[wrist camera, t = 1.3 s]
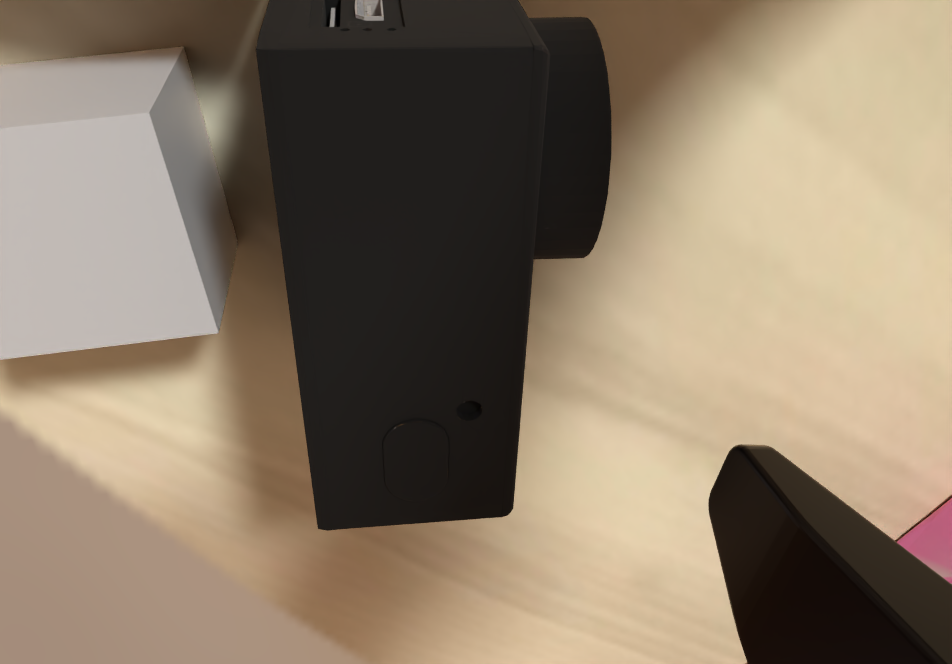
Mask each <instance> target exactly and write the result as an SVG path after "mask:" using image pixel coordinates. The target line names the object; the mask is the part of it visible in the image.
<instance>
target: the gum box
mask: <svg viewBox="0 0 952 664" xmlns="http://www.w3.org/2000/svg"><path fill="white" fill-rule="evenodd" d="M897 543H898V544H900V545H901V546H902V547H903V548H905V549H906V550H907V551H909V552H910V553H911V554H913V555H914V556H915V557H917V558H918V559H919V560H921V561H922V562H923V563H924V564H926V565H927V566H928V567H930V568H931V569H932V570H934V571H935V572H936V573H938V574H939V575H940V576H942V577H943V578H944V579H945V580H947V581H948V582H949V583H951V584H952V498H951V499H950V500H948V501H947V502H946V503H945V504H944V505H942V506H941V507H940V508H939V509H937V510H936V511H935V512H934V513H932V514H931V515H930V516H929V517H927V518H926V519H925V520H923V521H922V522H921V523H920V524H918V525H917V526H916V527H914V528H913V529H912V530H911V531H909V532H908V533H907V534H906V535H904V536H903V537H902V538H901V539H899V540H898V541H897Z"/></svg>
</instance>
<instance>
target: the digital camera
mask: <svg viewBox="0 0 952 664" xmlns="http://www.w3.org/2000/svg"><path fill="white" fill-rule="evenodd" d="M256 53H257V61H258V69H259V77H260V85H261V93H262V101H263V108H264V116H265V124H266V132H267V140H268V148H269V156H270V163H271V171H272V179H273V187H274V195H275V202H276V210H277V218H278V226H279V233H280V241H281V249H282V256H283V264H284V272H285V280H286V287H287V295H288V303H289V310H290V318H291V326H292V334H293V341H294V349H295V357H296V365H297V372H298V380H299V388H300V395H301V403H302V411H303V418H304V426H305V434H306V441H307V449H308V456H309V464H310V472H311V479H312V487H313V494H314V502H315V510H316V517H317V525H318V529H322V530H336V529H349V528H362V527H375V526H388V525H401V524H415V523H428V522H441V521H454V520H468V519H481V518H494V517H503V516H507V515H508V514H509V513H511V511H512V509H513V502H514V490H515V478H516V466H517V454H518V442H519V430H520V417H521V405H522V393H523V381H524V369H525V357H526V345H527V332H528V320H529V308H530V296H531V284H532V272H533V260H534V259H561V258H584V257H586V256H587V255H588V254H589V253H590V252H591V250H592V249H593V247H594V245H595V243H596V241H597V238H598V235H599V232H600V229H601V225H602V221H603V216H604V211H605V206H606V201H607V195H608V185H609V174H610V162H611V105H610V94H609V83H608V74H607V67H606V62H605V57H604V52H603V49H602V45H601V42H600V38H599V36H598V33H597V31H596V29H595V27H594V25H593V24H592V22H591V21H590V20H589V19H588V18H585V17H563V18H528V16H527V14H526V13H525V11H524V9H523V8H522V6H521V4H520V3H519V1H518V0H270V1H269V4H268V7H267V11H266V14H265V17H264V20H263V24H262V27H261V30H260V34H259V38H258V42H257V46H256Z"/></svg>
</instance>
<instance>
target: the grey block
mask: <svg viewBox="0 0 952 664" xmlns="http://www.w3.org/2000/svg"><path fill="white" fill-rule="evenodd" d="M237 246H238V241H237V238H236V234H235V231H234V227H233V223H232V220H231V216H230V212H229V209H228V205H227V201H226V198H225V194H224V190H223V187H222V183H221V180H220V176H219V172H218V169H217V165H216V161H215V158H214V154H213V150H212V147H211V143H210V140H209V136H208V132H207V129H206V125H205V121H204V118H203V114H202V110H201V107H200V103H199V99H198V96H197V92H196V89H195V85H194V81H193V78H192V74H191V70H190V67H189V63H188V59H187V56H186V52H185V49H184V46H183V47H173V48H163V49H153V50H143V51H133V52H123V53H113V54H103V55H93V56H83V57H73V58H63V59H53V60H43V61H33V62H23V63H13V64H3V65H0V360H2V359H10V358H19V357H27V356H35V355H43V354H52V353H60V352H68V351H76V350H84V349H93V348H101V347H109V346H117V345H126V344H134V343H142V342H150V341H158V340H167V339H175V338H183V337H191V336H200V335H208V334H216V333H219V329H220V324H221V319H222V315H223V310H224V306H225V301H226V297H227V292H228V288H229V283H230V278H231V274H232V269H233V265H234V260H235V256H236V251H237Z"/></svg>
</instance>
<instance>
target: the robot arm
mask: <svg viewBox="0 0 952 664" xmlns="http://www.w3.org/2000/svg"><path fill="white" fill-rule="evenodd" d="M709 515H710V519H711V524H712V528H713V532H714V536H715V540H716V545H717V549H718V553H719V557H720V562H721V566H722V570H723V574H724V579H725V583H726V587H727V591H728V596H729V600H730V604H731V608H732V612H733V616H734V620H735V624H736V628H737V631H738V635H739V638H740V641H741V644H742V647H743V650H744V653H745V656H746V659H747V662H748V664H952V584H951V583H949V582H948V581H947V580H945V579H944V578H943V577H942V576H940V575H939V574H938V573H936V572H935V571H934V570H932V569H931V568H930V567H928V566H927V565H926V564H924V563H923V562H922V561H921V560H919V559H918V558H917V557H915V556H914V555H913V554H911V553H910V552H909V551H907V550H906V549H905V548H903V547H902V546H901V545H900V544H898V543H897V542H896V541H894V540H893V539H892V538H890V537H889V536H888V535H886V534H885V533H884V532H882V531H881V530H880V529H879V528H877V527H876V526H875V525H873V524H872V523H871V522H869V521H868V520H867V519H865V518H864V517H863V516H861V515H860V514H859V513H858V512H856V511H855V510H854V509H852V508H851V507H850V506H848V505H847V504H846V503H844V502H843V501H842V500H840V499H839V498H838V497H837V496H835V495H834V494H833V493H831V492H830V491H829V490H827V489H826V488H825V487H823V486H822V485H821V484H819V483H818V482H817V481H816V480H814V479H813V478H812V477H810V476H809V475H808V474H806V473H805V472H804V471H802V470H801V469H800V468H798V467H797V466H796V465H795V464H793V463H792V462H791V461H789V460H788V459H787V458H785V457H784V456H783V455H781V454H780V453H779V452H778V451H776V450H775V449H773V448H772V447H769V446H765V445H736V446H734V447H733V448H732V449H731V450H730V451H729V453H728V455H727V457H726V459H725V461H724V464H723V466H722V468H721V470H720V472H719V475H718V477H717V479H716V481H715V483H714V486H713V488H712V490H711V493H710V497H709Z"/></svg>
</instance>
